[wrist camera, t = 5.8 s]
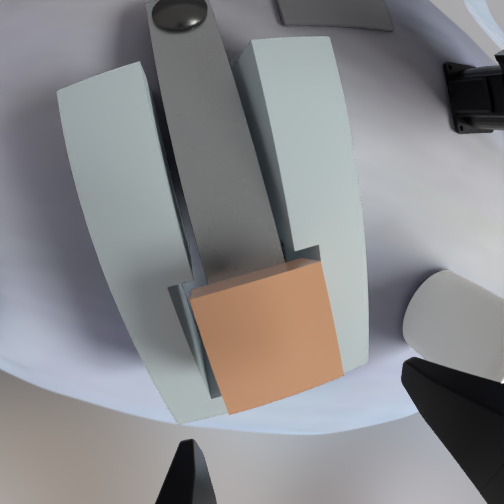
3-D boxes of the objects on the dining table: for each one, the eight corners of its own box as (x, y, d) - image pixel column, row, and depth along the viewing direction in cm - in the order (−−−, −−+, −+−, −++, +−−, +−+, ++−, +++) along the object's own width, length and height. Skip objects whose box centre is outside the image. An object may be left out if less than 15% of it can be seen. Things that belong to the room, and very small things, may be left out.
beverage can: (388, 306, 24) (487, 387, 13) (448, 250, 24) (551, 301, 13) (408, 357, 27) (483, 429, 16) (460, 307, 27) (540, 361, 16)
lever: (147, 13, 13) (144, 0, 12) (205, 2, 13) (206, -12, 12) (238, 380, 15) (241, 391, 13) (303, 358, 15) (312, 368, 14)
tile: (300, 257, 14) (320, 261, 11) (323, 356, 14) (343, 375, 12) (191, 289, 13) (189, 299, 11) (224, 389, 13) (228, 415, 11)
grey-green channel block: (92, 109, 15) (56, 91, 9) (286, 66, 17) (329, 36, 11) (174, 364, 21) (177, 424, 15) (328, 318, 23) (368, 362, 17)
